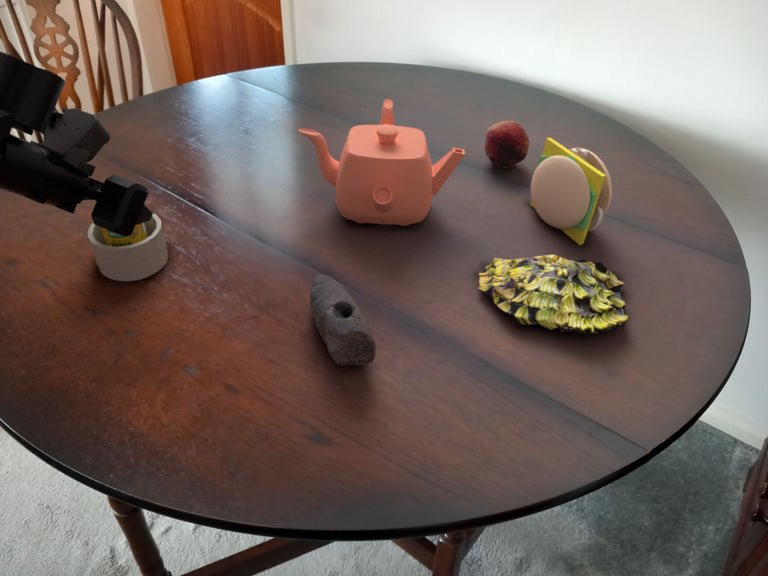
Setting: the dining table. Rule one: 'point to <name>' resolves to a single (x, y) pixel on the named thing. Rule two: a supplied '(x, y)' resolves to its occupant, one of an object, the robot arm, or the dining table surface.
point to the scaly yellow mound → (556, 293)
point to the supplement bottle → (120, 240)
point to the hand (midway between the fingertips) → (124, 205)
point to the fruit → (506, 144)
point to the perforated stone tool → (341, 323)
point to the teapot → (384, 172)
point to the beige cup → (130, 253)
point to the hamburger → (571, 189)
